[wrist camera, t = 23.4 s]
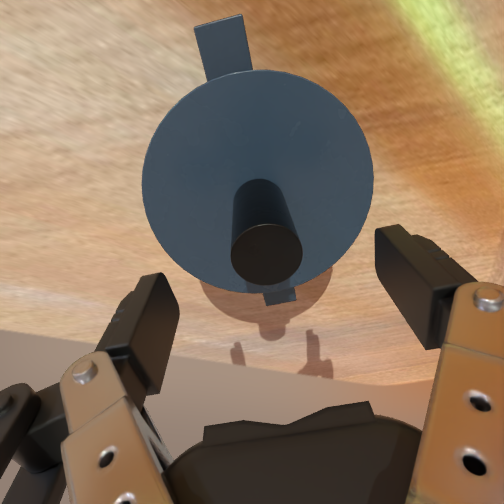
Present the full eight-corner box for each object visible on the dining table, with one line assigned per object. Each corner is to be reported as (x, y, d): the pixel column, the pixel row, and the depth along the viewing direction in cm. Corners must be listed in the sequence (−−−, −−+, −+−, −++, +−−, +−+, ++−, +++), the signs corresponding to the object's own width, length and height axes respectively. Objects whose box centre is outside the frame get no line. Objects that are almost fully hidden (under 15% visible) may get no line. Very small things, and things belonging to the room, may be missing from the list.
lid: (363, 38, 14) (454, 10, 8) (369, 263, 21) (421, 339, 15) (106, 106, 16) (18, 125, 9) (189, 299, 22) (170, 383, 16)
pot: (316, 11, 19) (354, -22, 13) (336, 244, 28) (365, 293, 22) (136, 60, 20) (88, 53, 14) (211, 270, 29) (203, 324, 23)
